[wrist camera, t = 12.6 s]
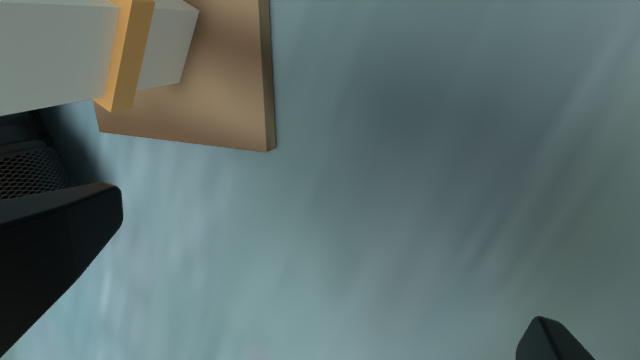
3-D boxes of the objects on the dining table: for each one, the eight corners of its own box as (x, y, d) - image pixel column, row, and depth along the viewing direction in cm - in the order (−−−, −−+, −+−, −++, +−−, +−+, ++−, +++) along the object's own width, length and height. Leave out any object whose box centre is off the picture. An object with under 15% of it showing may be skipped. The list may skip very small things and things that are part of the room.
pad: (275, 147, 22) (266, 152, 21) (112, 128, 26) (99, 131, 25) (263, -118, 18) (251, -125, 17) (70, -88, 22) (53, -93, 21)
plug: (210, 5, 20) (-116, -15, 9) (184, 95, 22) (-98, 160, 12) (132, -42, 20) (-249, -110, 10) (115, 50, 23) (-205, 72, 12)
